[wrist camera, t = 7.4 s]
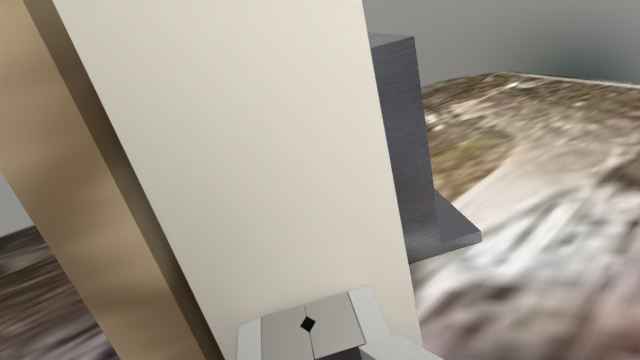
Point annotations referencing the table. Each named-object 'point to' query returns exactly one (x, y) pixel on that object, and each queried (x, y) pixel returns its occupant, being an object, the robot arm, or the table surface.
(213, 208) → the slate book box
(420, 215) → the metal bookend
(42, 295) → the table surface
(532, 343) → the table surface
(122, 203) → the oak shelf
